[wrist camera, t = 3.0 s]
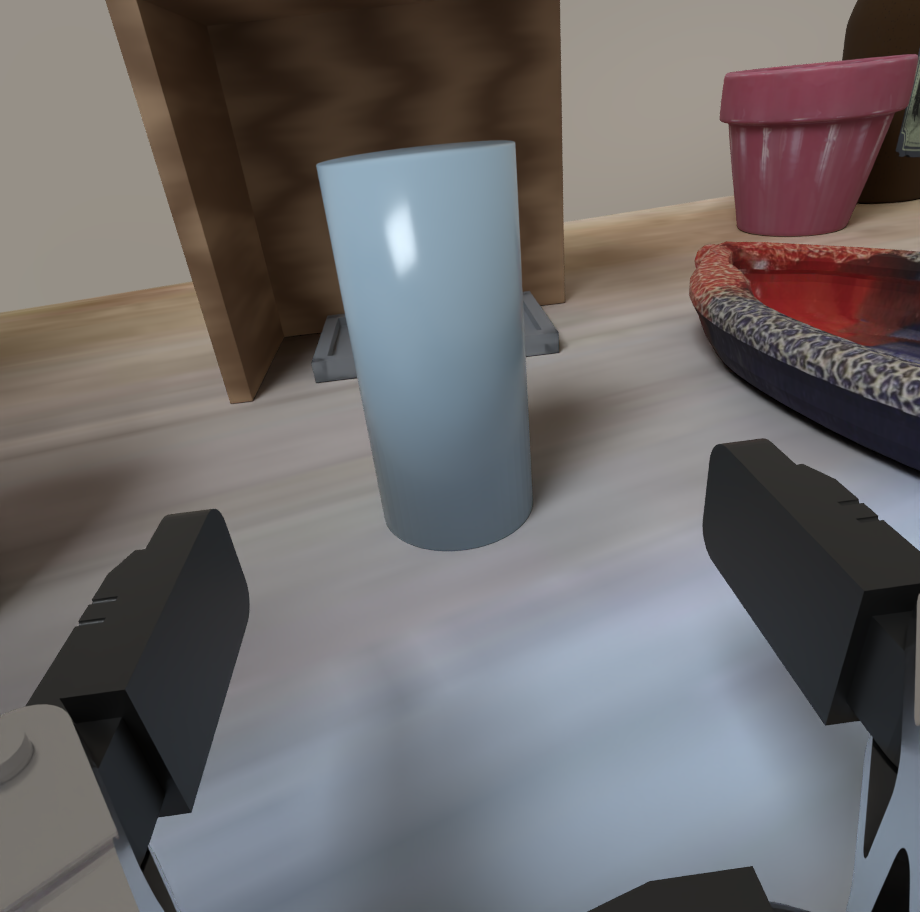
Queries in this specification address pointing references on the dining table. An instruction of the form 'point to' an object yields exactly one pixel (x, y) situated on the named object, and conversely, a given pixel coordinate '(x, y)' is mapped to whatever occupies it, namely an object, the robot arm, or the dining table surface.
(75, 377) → the dining table surface
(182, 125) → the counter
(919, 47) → the olive oil
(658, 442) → the dining table surface
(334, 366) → the tray
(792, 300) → the dish
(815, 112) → the plant pot
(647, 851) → the dining table surface
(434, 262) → the tall pale blue cylinder
